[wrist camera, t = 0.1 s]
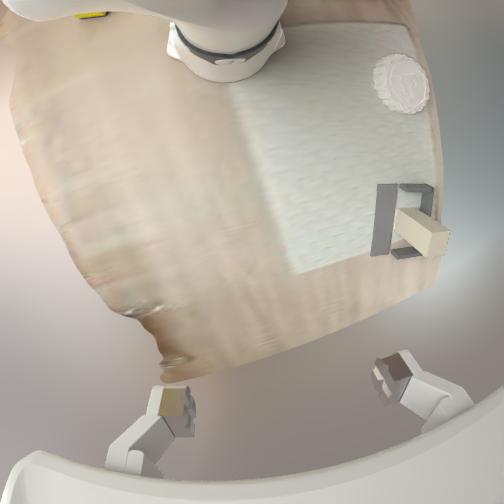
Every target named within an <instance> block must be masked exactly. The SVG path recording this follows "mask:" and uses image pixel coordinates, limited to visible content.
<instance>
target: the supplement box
mask: <svg viewBox="0 0 504 504" xmlns="http://www.w3.org/2000/svg"><path fill="white" fill-rule="evenodd" d="M107 13H108V11H105V12H92V13H84V14H77V15H74V16H76V17H78V18H80V19H86V18H94V17H104V16H106V15H107Z"/></svg>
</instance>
